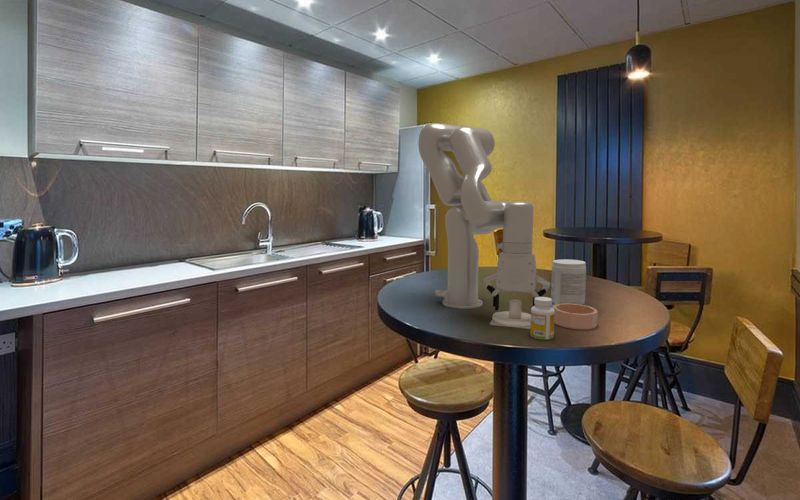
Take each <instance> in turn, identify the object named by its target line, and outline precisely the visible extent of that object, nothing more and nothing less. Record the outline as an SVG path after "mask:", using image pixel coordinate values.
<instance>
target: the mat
mask: <svg viewBox="0 0 800 500" xmlns="http://www.w3.org/2000/svg"><path fill="white" fill-rule="evenodd" d="M495 313H497V311H495V312H494V313H493V314H495ZM489 325H490V326H500V327H507V328H508V327H509V328H511V327H510V326H504V325H501V324H498V323H496V322H494V321H493V320H492V319H491V320H490V322H489ZM514 328H515V329H516V328H517V329H527V330H530V327H514Z"/></svg>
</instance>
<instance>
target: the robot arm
mask: <svg viewBox="0 0 800 500" xmlns="http://www.w3.org/2000/svg"><path fill="white" fill-rule="evenodd" d="M418 135H419V136H418V140H417V141H418V142H417V145H418V146H417V147H418V152H419V155H420V158H421V160H422V162H423V164H424V165H425V167H426V169H427V171H428V173H429V175H430V177H431V180H432V182H433V184H434V188H435V189H436V191H437V192H436V193H437V195H438V197H439V200H440V201H441V202H442V204H443V205H445V206H447V207H448V206H449V207H451V208H449V209H448V210H447V212H446V214H445V217H444V224H445V231H446V232H445V233H446V237H447V289H444V290H441V289H435V290H434V296H435V297H436V298H443V300H442V305H443V306H444V307H449V308H452V309H461V310H464V309H465V310H467V309H469V310H471V309H476V308H480V307H482V306H483V304H484V303H483V300H481V299H480V298H479V258H480V257H479V252H480V251H479V245H478V243H477V240H476V238H475V236H478V235H488V234H490V233H492V232H494V231H496V229H501V228H502V229H503V230H502V242H500V243H497V245H496V248H497V249H499V250H501V251H502V252H499V253H498V259H497V267H496V273H493V274H491V275H489V276H486V277H484V278H483V283H484V285H485V287H486V289H487V291H488V292H489V293H490V294H491V295H492V307H495V308H494V311H495V312H497V311H499V309H500V294H499V293H500V292H501V291H503V292H512V293H513V292H514V293H530V294H531V295H532V296H533V297H532V307H533V306H535V304H534V299H535V298H536V297H544V295H545V294H546V293H547V291H548V290H549V289H550V286H551V282H550V281H548V280H546V279H545V278H543V277H541V276H539V275H537V260H536V255H535V253H533V238H534V237H533V235H534V234H533V232H534V211H535V210H534V204H533V203H532V202H529V201H507V200H492V199H491V196H490V194H489V192H488V190H487V188H486V186H485V184H484V183H483V180H484V179H487V177H488V176H489V175H490V174H491V172H492V169H493V168H492V167H493V166H492V164H491V161H490V159H489V157H488V156H489V155H491V154H492V153H493V151H494V149H495V144H496V143H495V138H494V136H493V134H492V133H491V131H489V130H488V129H485V128H481V127H479V128H478V127H472V126H471V127H470V126H466V125H465V126H464V125H458V124H457V125H456V124H448V123H442V122H441V123H439V122H438V123H437V122H436V123H433V122H432V123H430V124H429V123H428V124H427V125H424V126H423V127H422V128H421V130H420V131H419V134H418ZM445 152H452V153H453V155H454V157H455V160H456V162H457V165H458V167H459V168H460V170H461V174H462V175H461V174H460V173H459V171H458V170H457V167H456V165H455V163H454V161H453V160H452V159H451V157H449V155H447V154H446V153H445ZM494 280H495V286H496V287H495V288H494V286H493V285H492V284H491V281H494ZM537 282H538V283H539V284H541V285H542V286H543V287H542V288H541V289H540V290H537V288H536V287H537Z"/></svg>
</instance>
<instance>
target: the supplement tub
mask: <svg viewBox="0 0 800 500" xmlns="http://www.w3.org/2000/svg"><path fill="white" fill-rule="evenodd" d="M586 265H587V263H586V261H584V260H579V259H566V258H565V259H554V260H552V265H551V282H550V284H551V285H550V286H551V290H550V291H551V293H550V295H551V296H550V298H551V299H552V305H551V307H552V308H553V306H554V305H557V304H566V303H570V304H580V305H585V306H586V287H587V286H586V285H587V282H586V281H587V266H586Z"/></svg>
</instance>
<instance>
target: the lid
mask: <svg viewBox="0 0 800 500" xmlns="http://www.w3.org/2000/svg"><path fill="white" fill-rule="evenodd" d="M508 301H509V304H508V305H509V306H508V311H507V310H506V311H505V310H504V311H498V312H497V311H496V312H497V313H495V312H494V313H495V314H494V313H493V314H492V319H491V320H493V321H494V322H496V323H498V324H501V325H504V326H503V327H506V326H510V327H509V328H515V327H530V325H531V313H528V312H524V311H522V307H523V306H522V305H523V304H522V300H520V299H510V300H508Z"/></svg>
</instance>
